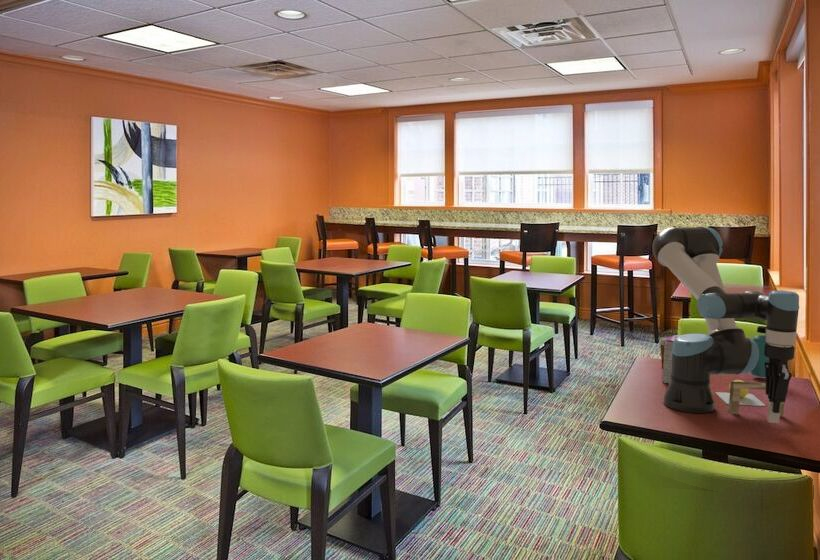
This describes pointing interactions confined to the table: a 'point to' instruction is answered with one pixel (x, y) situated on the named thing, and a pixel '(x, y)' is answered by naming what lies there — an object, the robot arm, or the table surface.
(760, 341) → the beverage bottle
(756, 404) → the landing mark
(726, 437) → the table surface
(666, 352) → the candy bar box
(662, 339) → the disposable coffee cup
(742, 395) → the ball
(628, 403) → the table surface
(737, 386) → the bridge
